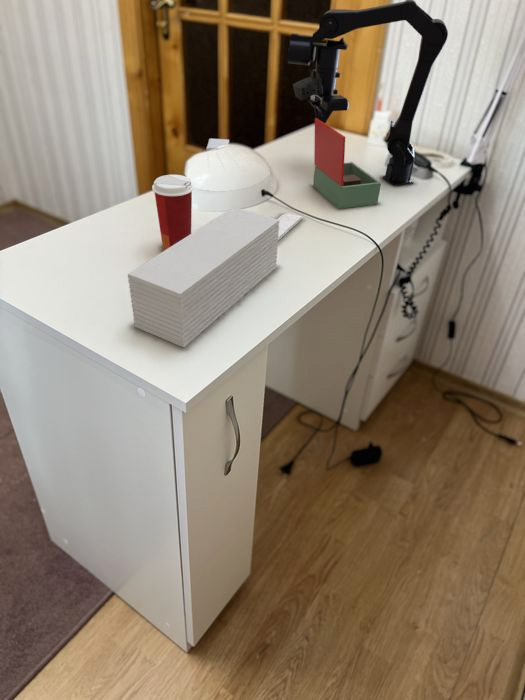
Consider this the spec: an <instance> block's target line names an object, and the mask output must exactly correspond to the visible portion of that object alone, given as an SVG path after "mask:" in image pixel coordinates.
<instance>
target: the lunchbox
mask: <svg viewBox="0 0 525 700" xmlns="http://www.w3.org/2000/svg"><path fill="white" fill-rule="evenodd" d="M313 173H314V174H313V184H312V187H313V188H314V189H316V190H317V192H319V193H320V194H321V195H322V196H324V197H325V198H326V199H327V200H328V201H329V202H330V203H332V205H334V206H335V208H337V209H338V210H343V209H350V208H357V207H365V206H366V207H367V206H373V205H378V203H379V197H380V193H381V187H382V182H381V181H379V180H378V179H376V178H375V177H374V176H373V175H371V174H370V173H368V172H367V171H365V170H364V169H362V168H361V167H360V166H358V165H357V164H356V163H354V162H353V161H350V162H344V176H345V175H356V176H357V177H358V178H359V179H361V184H359V185H350V186H340V185H339V184H338V183H336V182H335V181H334V180H333V179H331V178H330V177H329V176H328V175H327V174H325V173H324V172H323V171H322V170H320V169H319V168H318V167H317V166H315V165H314V172H313Z"/></svg>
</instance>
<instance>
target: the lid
mask: <svg viewBox="0 0 525 700" xmlns="http://www.w3.org/2000/svg"><path fill="white" fill-rule="evenodd" d="M313 152H314V156H313V157H314V158H313V159H314V161H313V164H314V167H315V166H317V167H318V168H319V169H320V170H322V171H323V172H324V173H325V174H327V175H328V176H329V177H330V178H331V179H333V180H334V181H335V182H336V183H338V184H339V185H340V186H343V177H344V163H345V153H346V136H345V135H343V134H342V133H340V132H338V131H337V130H336V129H334V128H333V127H331V126H330V125H328V124H326V123H323V122H322V121H320V120H319V119H317V118H316V117H315V118H314V151H313Z"/></svg>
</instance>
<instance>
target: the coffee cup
mask: <svg viewBox="0 0 525 700" xmlns="http://www.w3.org/2000/svg"><path fill="white" fill-rule="evenodd" d="M151 188H152V191H153V192H154V199H155V205H156V211H157V218H158V219H157V220H158V225H159V232H160V238H161V244H162V249H163V251H165V250H166V249H168V248H169V247H171V246H173V245H174V244H176V243H177V242H179V241H181V240H182V239H184V238H185V237H187V236H188V235H190V234H192V212H193V211H192V209H193V208H192V207H193V205H192V204H193V202H192V201H193V200H192V199H193V196H192V195H193V190H194V185H193V184H192V181H191V179H190V178H189V177H187V176H185V175H181V174H166V175H161V176H159V177H157V178H156V179H155V180H154V181H153V184H152V186H151Z"/></svg>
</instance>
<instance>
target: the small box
mask: <svg viewBox="0 0 525 700" xmlns="http://www.w3.org/2000/svg"><path fill="white" fill-rule="evenodd" d="M230 141H231V140H230V139H226V138H209V139H208V143H207V146H206V148H205V151H208V150H210V149H214V148H215V147H217V148H218V146H221V145H227V144H231V143H230Z"/></svg>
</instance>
